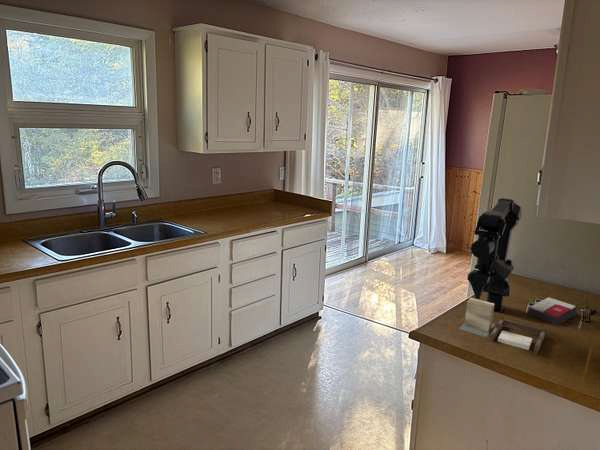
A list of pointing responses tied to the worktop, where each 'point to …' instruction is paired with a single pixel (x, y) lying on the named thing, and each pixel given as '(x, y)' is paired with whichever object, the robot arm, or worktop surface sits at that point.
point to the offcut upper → (515, 340)
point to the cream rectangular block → (479, 314)
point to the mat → (476, 330)
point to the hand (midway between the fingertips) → (481, 294)
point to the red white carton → (553, 311)
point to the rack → (522, 328)
